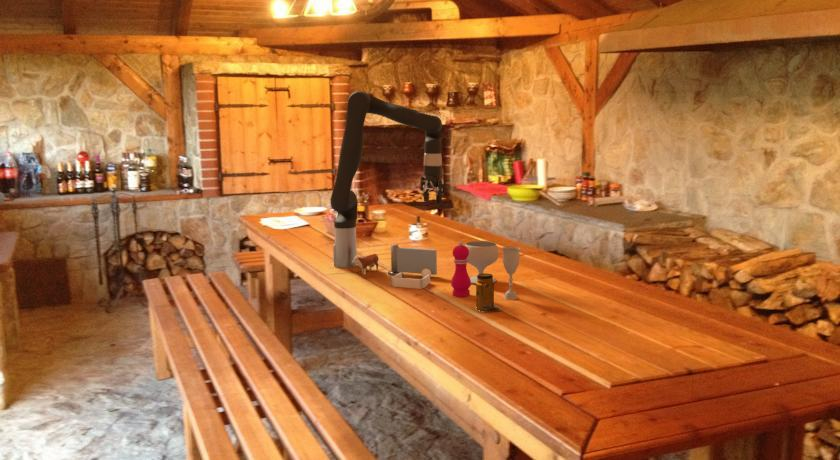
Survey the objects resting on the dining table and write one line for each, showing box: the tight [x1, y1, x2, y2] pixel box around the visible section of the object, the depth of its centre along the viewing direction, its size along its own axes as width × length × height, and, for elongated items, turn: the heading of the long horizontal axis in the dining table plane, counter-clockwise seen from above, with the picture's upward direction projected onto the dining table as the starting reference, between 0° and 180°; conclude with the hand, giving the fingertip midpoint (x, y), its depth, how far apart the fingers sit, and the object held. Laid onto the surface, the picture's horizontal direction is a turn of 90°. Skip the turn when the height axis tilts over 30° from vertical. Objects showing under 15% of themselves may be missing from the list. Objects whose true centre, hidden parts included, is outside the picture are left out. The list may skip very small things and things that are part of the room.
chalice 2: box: [501, 246, 521, 301], centre depth 254 cm, size 7×7×18 cm
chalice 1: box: [464, 240, 500, 285], centre depth 278 cm, size 14×14×15 cm
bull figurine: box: [352, 253, 379, 276], centre depth 296 cm, size 4×13×8 cm, turn 137°
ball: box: [420, 268, 432, 278], centre depth 285 cm, size 4×4×4 cm
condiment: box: [475, 272, 503, 313], centre depth 241 cm, size 7×8×12 cm
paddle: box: [390, 243, 438, 276], centre depth 290 cm, size 20×3×11 cm, turn 69°
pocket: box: [390, 272, 431, 290], centre depth 275 cm, size 13×9×4 cm
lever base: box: [387, 270, 400, 277], centre depth 294 cm, size 6×6×1 cm
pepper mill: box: [450, 240, 472, 298], centre depth 258 cm, size 7×7×20 cm
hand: (432, 202), depth 299 cm, fingers open, 8 cm apart
